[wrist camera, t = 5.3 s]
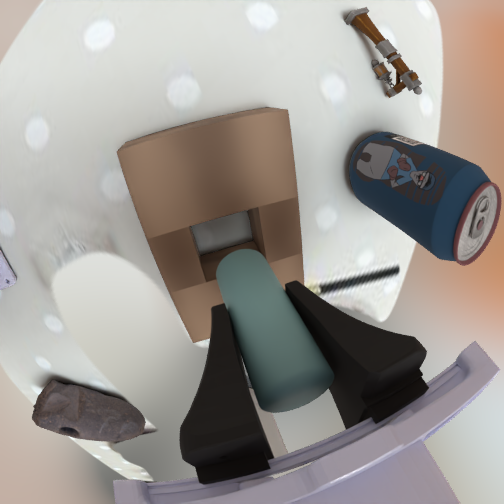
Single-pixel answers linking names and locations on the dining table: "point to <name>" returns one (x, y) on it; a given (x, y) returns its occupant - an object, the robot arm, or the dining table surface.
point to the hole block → (215, 201)
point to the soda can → (427, 194)
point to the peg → (271, 334)
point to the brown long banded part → (385, 55)
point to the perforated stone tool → (86, 414)
